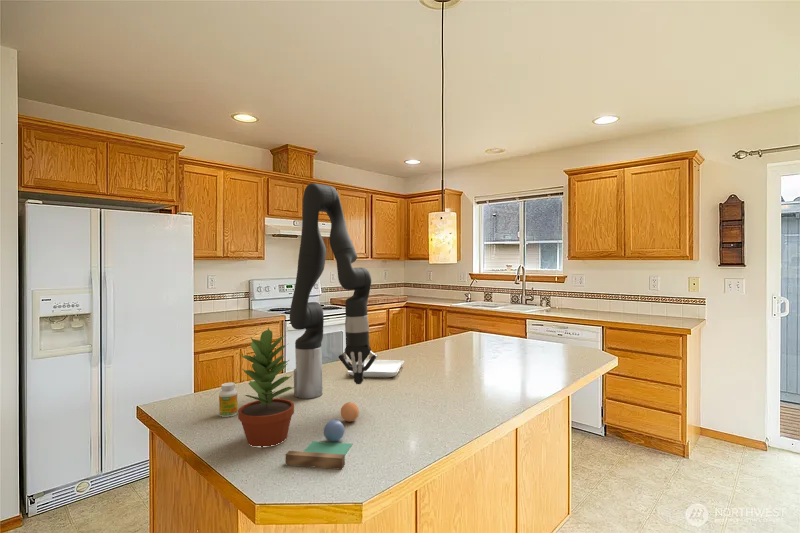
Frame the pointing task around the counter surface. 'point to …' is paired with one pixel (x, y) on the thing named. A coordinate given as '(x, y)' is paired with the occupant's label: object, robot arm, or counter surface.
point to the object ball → (334, 430)
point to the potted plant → (266, 396)
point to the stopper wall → (315, 459)
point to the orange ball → (349, 411)
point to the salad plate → (381, 368)
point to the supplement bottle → (228, 400)
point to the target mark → (328, 447)
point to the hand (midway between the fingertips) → (358, 383)
